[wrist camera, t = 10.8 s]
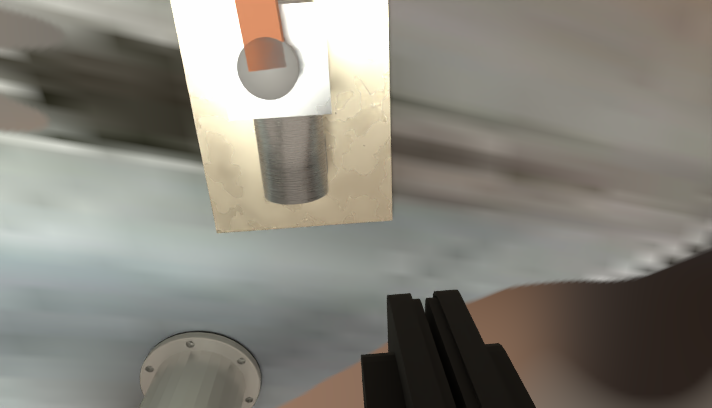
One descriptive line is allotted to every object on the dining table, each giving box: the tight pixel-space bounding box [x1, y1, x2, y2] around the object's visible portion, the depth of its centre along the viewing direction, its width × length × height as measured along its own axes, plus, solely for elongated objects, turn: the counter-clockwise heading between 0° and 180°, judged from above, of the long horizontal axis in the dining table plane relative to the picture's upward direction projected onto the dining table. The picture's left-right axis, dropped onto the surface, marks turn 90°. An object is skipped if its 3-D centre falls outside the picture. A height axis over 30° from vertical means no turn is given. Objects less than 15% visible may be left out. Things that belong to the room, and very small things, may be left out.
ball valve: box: [170, 0, 392, 233], centre depth 30 cm, size 30×16×12 cm, turn 3°
